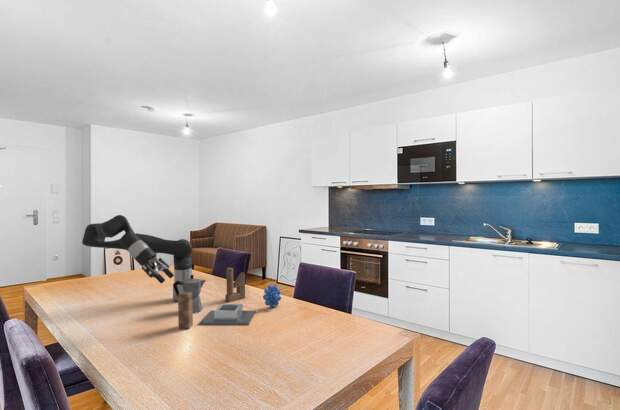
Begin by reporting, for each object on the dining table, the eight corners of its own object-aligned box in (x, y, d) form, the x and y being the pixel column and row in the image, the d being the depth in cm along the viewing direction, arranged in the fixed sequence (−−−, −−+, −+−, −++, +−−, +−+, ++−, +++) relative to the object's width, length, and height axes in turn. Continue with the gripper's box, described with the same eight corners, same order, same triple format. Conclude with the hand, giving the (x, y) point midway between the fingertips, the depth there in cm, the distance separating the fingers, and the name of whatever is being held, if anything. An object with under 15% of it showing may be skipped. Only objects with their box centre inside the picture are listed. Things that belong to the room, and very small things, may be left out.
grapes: (269, 312, 167) (269, 288, 167) (260, 309, 172) (260, 285, 171) (286, 306, 176) (286, 283, 175) (277, 303, 180) (277, 281, 180)
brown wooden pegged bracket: (245, 298, 191) (245, 266, 190) (229, 302, 183) (228, 269, 183) (241, 296, 193) (241, 265, 193) (225, 301, 185) (224, 268, 185)
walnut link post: (178, 329, 146) (178, 294, 146) (182, 325, 151) (182, 291, 150) (188, 329, 146) (188, 294, 146) (192, 325, 151) (192, 291, 150)
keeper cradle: (199, 324, 151) (199, 313, 151) (210, 312, 167) (210, 302, 167) (248, 324, 151) (248, 313, 151) (255, 312, 167) (255, 302, 167)
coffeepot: (205, 306, 177) (205, 271, 176) (206, 312, 168) (206, 275, 167) (173, 309, 171) (173, 274, 171) (173, 316, 163) (172, 278, 162)
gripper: (144, 256, 155) (169, 281, 155) (126, 262, 141) (154, 289, 141) (155, 244, 155) (180, 269, 155) (138, 249, 140) (166, 277, 140)
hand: (168, 279), depth 148 cm, fingers open, 8 cm apart
